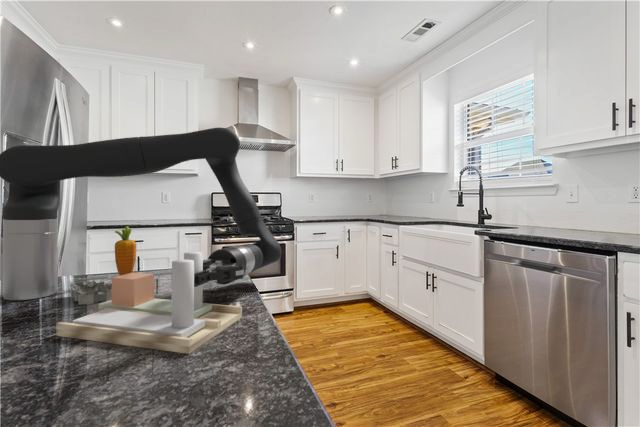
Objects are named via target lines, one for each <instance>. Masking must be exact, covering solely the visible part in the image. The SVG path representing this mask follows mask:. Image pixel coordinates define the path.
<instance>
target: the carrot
mask: <svg viewBox="0 0 640 427" xmlns="http://www.w3.org/2000/svg"><path fill="white" fill-rule="evenodd" d="M114 233H116V234H117V235H119V236H120V238H121V240H118V241H116V242H115V243H114V256H115V257H114V259H115V260H114V261H115V265H116V269H117V272H118V276H121V275H125V274H129V273H134V268H135V264H136V260H137V242H136V241H135V240H133V239H130V235H131V234H132V228H130V227H129V226H128V225H127V226H126V225H125V226H124V228H122V229H121V231H119V230H118V229H117V230H114Z"/></svg>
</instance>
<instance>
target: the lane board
mask: <svg viewBox="0 0 640 427" xmlns="http://www.w3.org/2000/svg"><path fill="white" fill-rule="evenodd" d="M154 298H155V299H158V298H156V297H154ZM164 299H165V298H164ZM165 300H168V299H167V298H166V299H165ZM206 303H207V302H206ZM207 304H210V303H207ZM211 304H212V310H210V311H208V312H206V313H204V314H202V315H201V316H199V317H194V319H201V320H205V326H204V327H203V328H201V329H199V330H198V331H196V332H195V333H193V334H191V335H190V336H188V337H178V336H170V335H162V334H154V333H146V332H138V331H130V330H122V329H114V328H106V327H98V326H90V325H82V324H74V323H73V322H66V321H65V322H64V321H59V322H56V336H57V337H65V338H72V339H79V340H84V341H85V340H86V341H93V342H101V343H109V344H114V345H123V346H129V347H137V348H143V349H144V348H145V349H151V350H157V351H158V350H159V351H165V352H173V353H179V354H180V353H181V354H188V355H189V354H191V353H193V352H194V351H195V350H197V349H198V348H200V347H202V346H203V345H205V344H206V343H207V342H208V341H210V340H212V339H213V338H214V337H216V336H217V335H219V334H220V333H221V332H223V331H225V330H226V329H227V328H228V327H230V326H231V325H233V324H234V323H236V322H237V321H239V320H240V319H242V318H243V306H238V305H230V304H229V305H228V304H218V303H217V304H216V303H211ZM104 309H109V310H119V311H128V312H137V313H146V314H155V315H164V316H172V315H171V314H162V313H152V312H143V311H134V310H124V309H115V308H106V307H103V308H100V309H98V311H101V310H104Z"/></svg>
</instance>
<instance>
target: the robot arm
mask: <svg viewBox="0 0 640 427" xmlns="http://www.w3.org/2000/svg"><path fill="white" fill-rule="evenodd" d="M240 145H241V142H240V138H239V136H238V135H237V133H235V132H234V131H233V130H232V129H229V128H226V127H212V128H207V129H202V130H196V131H191V132H184V133H174V134H173V133H172V134H163V135H162V134H160V135H159V134H158V135H151V136H149V135H148V136H135V137H134V136H132V137H131V136H130V137H122V138H114V139H105V140H99V141H98V140H97V141H92V142H91V141H90V142H86V143H84V142H83V143H77V144H65V145H64V144H63V145H62V144H61V145H58V144H57V145H55V144H54V145H50V144H49V145H43V144H42V145H36V144H35V145H31V144H29V145H26V144H23V145H14V146H11V147H9V148H7V149H5V150H3V151H2V152H1V153H0V178H1V179H2V180H4V182H6V183H8V198H7V201H6V203H5V204H4V206H3V207H2V253H1V254H0V297H1V298H2V297H3V298H2V299H3V300H6V301H25V300H35V299H40V298H45V297H49V296H53V295H55V294H57V293H58V270H59V269H58V267H59V266H58V263H59V260H58V210H59V207H60V203H61V202H60V201H61V181H65V180H71V179H75V178H76V179H77V178H86V177H87V178H89V177H92V178H96V177H97V178H99V177H101V178H104V177H105V178H116V177H133V176H141V175H150V174H154V173H157V172H161V171H164V170H166V169H167V170H168V169H169V168H171V167H174V166H177V165H178V164H182V163H184V162H188V161H193V160H203V159H205V161H206V162H207V164H208V166H209V167H210V170H212V172H213V174H214V176H215V178H216V180H217V181H218V182H219V185H220V186H221V189H222V191H223V193H224V196H225V198H226V201H227V203H228V206H229V209H230V211H231V215H232V217H233V219H234V222H235V223H236V227H237V229H238V232H239V234H240V235H241V236H242V237H247V236H248V237H249V236H252V235H253V236H254V235H255V236H257V237H258V238H259V240H258V241H255V242H252V243H246V244H241V245H233V246H228V247H224V248H219V249H216V250H214V251H213V252H211V254H210V255H209V256H208V257H207V259H203V271H200V272H197V273H194V287H197V286H199V285H202V284H203V285H204V284H213V283H217V285H218V284H219V285H229V284H230V283H233V282H236V281H238V280H242V279H244V277H246V276H247V275H249V274H250V273H253V272H255V271H257V270H259V269H262V268H264V267H267V266H269V265H271V264H273V263H276V262H278V261H279V260H280V259H281V257H282V247H281V245H280V243H279V242H278V240H277V239H276V238H275V236H274V235H273V233H272V232H271V230H270V229H269V228H268V226H267V225H266V224H265V222H264V219H263V218H262V214H261V212H260V209H259V207H258V206H257V205H258V204H257V203H256V201H255V199H254V196H252V194H251V192H250V191H249V189H248V187H246V185H245V183H244V181H243V179H242V178H241V175H240V171H239V170H238V166H237V160H236V158H237V155H238V153H239V151H240Z"/></svg>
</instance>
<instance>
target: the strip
mask: <svg viewBox="0 0 640 427" xmlns="http://www.w3.org/2000/svg"><path fill="white" fill-rule="evenodd" d="M171 300H172V316H164V315H155V314H146V313H137V312H128V311H119V310H109V309H104V310H101V311H99V310H98V311H96V312H93V313H90V314H87V315H84V316H82V317H78V318H76V319H73V320H72V323H74V324H82V325H90V326H98V327H106V328H114V329H122V330H130V331H138V332H146V333H154V334H162V335H170V336H178V337H188V336H190V335H191V334H193V333H195V332H196V331H198V330H199V329H201V328H203V327H204V326H205V320H201V319H194V260H184V259H177V260H172V261H171Z"/></svg>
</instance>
